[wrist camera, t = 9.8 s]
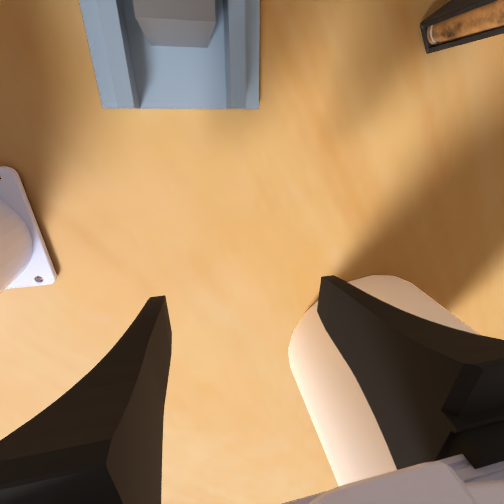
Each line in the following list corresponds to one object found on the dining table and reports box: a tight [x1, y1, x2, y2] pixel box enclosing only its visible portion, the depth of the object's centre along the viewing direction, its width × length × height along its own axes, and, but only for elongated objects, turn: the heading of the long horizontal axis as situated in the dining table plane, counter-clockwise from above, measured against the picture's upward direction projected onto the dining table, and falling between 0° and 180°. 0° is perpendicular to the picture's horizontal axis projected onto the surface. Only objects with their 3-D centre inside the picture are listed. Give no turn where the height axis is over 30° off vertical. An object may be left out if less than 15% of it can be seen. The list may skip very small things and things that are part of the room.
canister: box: [288, 275, 480, 486], centre depth 21 cm, size 16×16×20 cm
